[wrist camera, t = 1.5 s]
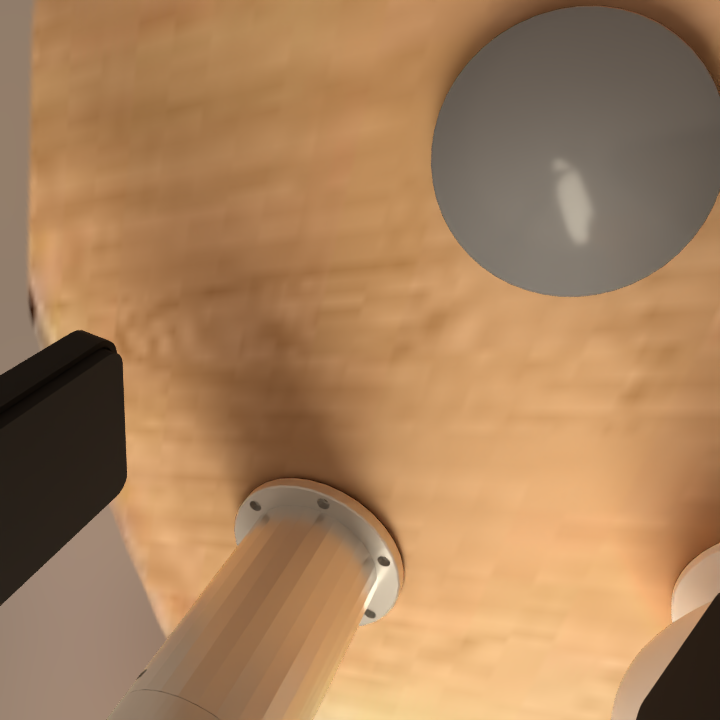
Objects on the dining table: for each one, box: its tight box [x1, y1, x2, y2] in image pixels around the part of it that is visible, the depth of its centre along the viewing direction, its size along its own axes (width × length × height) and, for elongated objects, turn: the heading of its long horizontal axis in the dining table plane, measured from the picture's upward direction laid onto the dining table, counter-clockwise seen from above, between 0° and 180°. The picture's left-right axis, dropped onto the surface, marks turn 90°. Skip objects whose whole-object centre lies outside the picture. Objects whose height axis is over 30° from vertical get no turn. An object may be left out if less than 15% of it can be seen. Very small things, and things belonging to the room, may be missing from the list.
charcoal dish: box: [431, 5, 720, 297], centre depth 29 cm, size 12×12×1 cm
